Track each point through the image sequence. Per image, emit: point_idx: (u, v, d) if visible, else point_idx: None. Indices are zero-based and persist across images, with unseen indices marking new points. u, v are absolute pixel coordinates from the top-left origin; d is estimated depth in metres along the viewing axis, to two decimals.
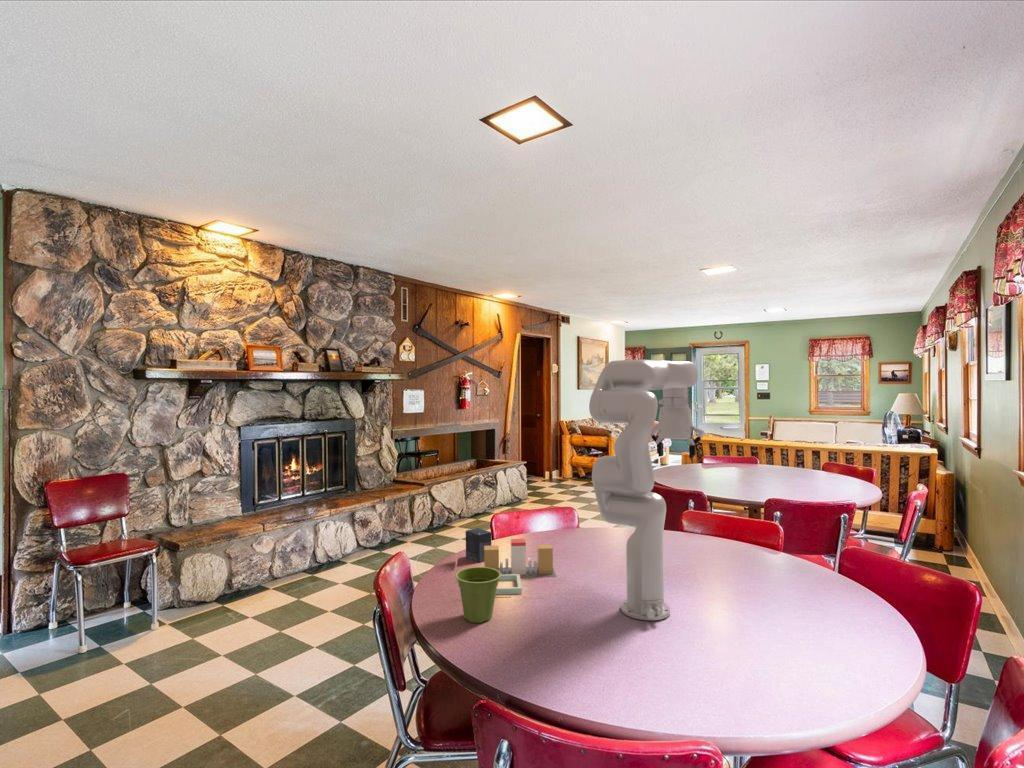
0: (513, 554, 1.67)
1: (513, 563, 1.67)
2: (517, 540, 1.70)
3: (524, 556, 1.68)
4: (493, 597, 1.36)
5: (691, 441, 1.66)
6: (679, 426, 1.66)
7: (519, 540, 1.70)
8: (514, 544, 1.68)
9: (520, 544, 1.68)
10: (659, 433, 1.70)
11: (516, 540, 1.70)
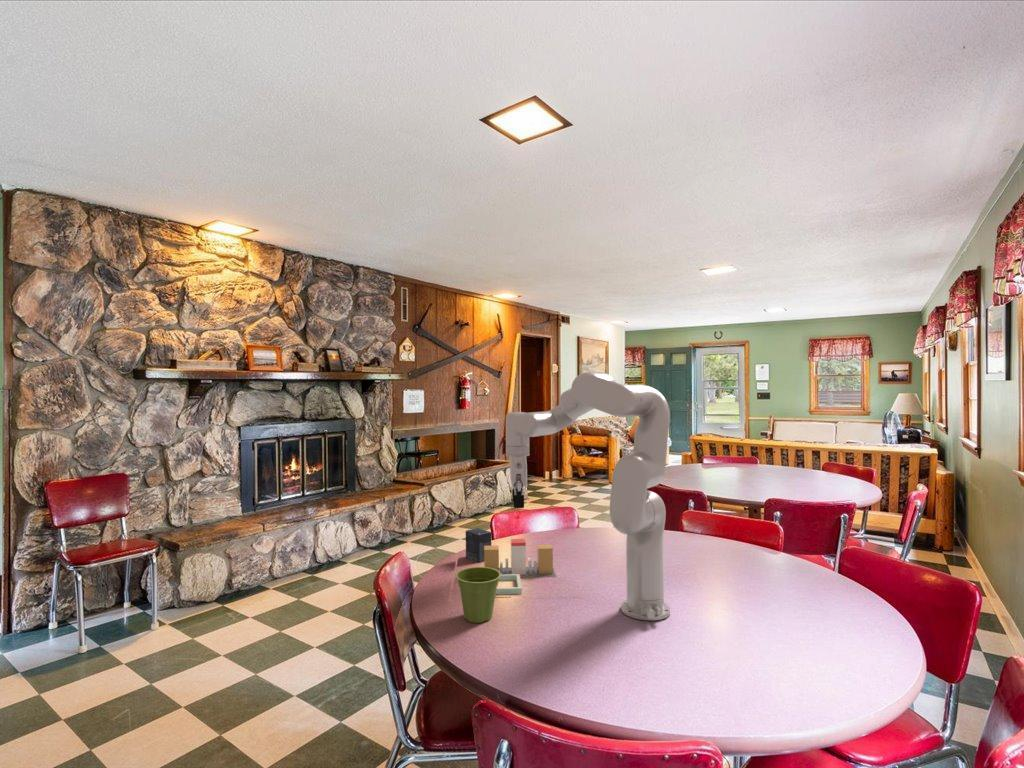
0: (513, 554, 1.67)
1: (513, 563, 1.67)
2: (517, 540, 1.70)
3: (524, 556, 1.68)
4: (493, 597, 1.36)
5: None
6: None
7: (519, 540, 1.70)
8: (514, 544, 1.68)
9: (520, 544, 1.68)
10: None
11: (516, 540, 1.70)
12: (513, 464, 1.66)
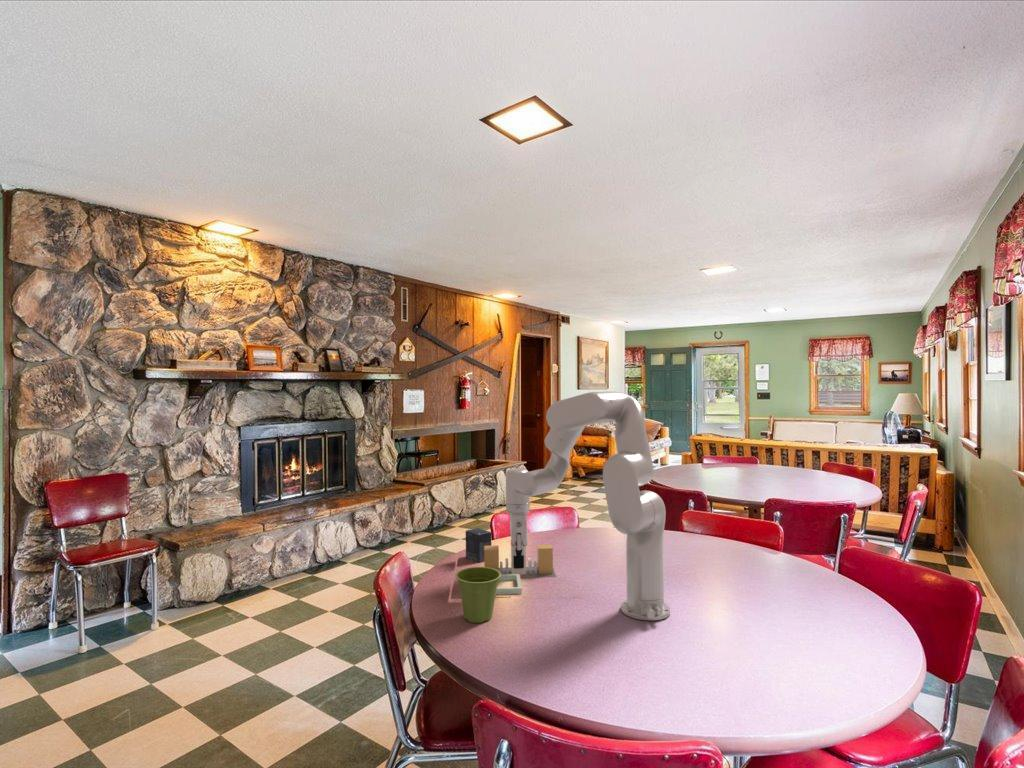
0: (513, 554, 1.67)
1: (513, 563, 1.67)
2: None
3: (524, 556, 1.68)
4: (493, 597, 1.36)
5: None
6: None
7: None
8: None
9: None
10: None
11: None
12: (513, 523, 1.65)
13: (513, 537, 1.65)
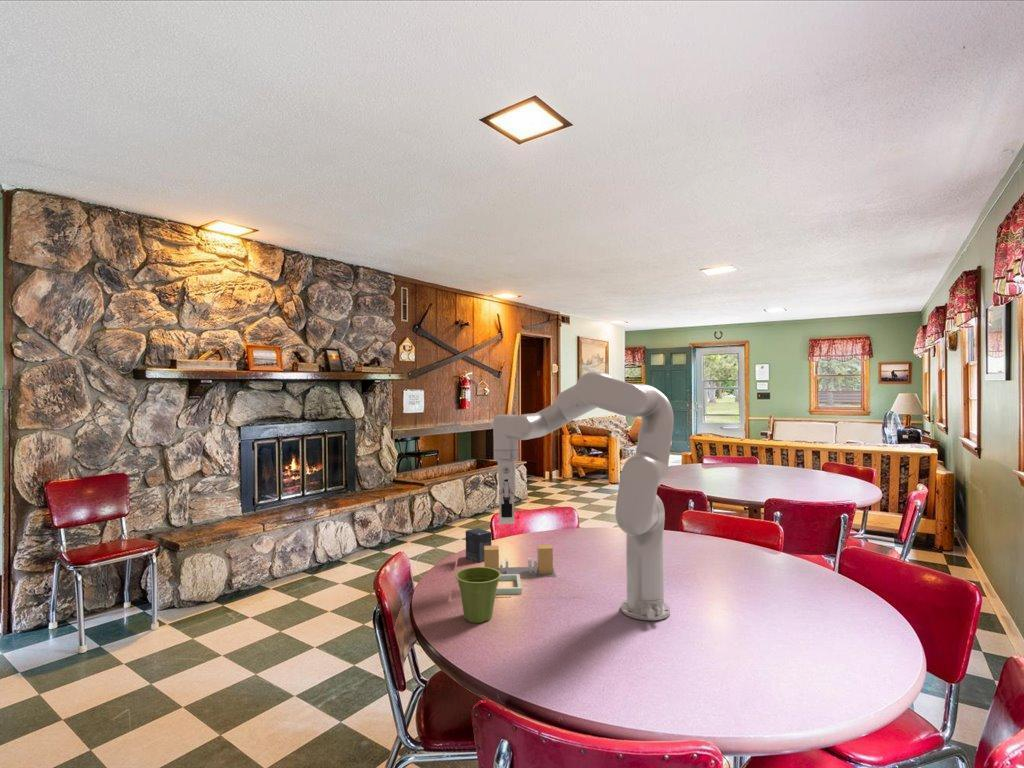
0: (500, 503, 1.60)
1: None
2: None
3: (512, 505, 1.60)
4: (493, 597, 1.36)
5: None
6: None
7: None
8: None
9: (508, 492, 1.60)
10: (515, 489, 1.58)
11: None
12: (500, 469, 1.58)
13: (500, 484, 1.58)
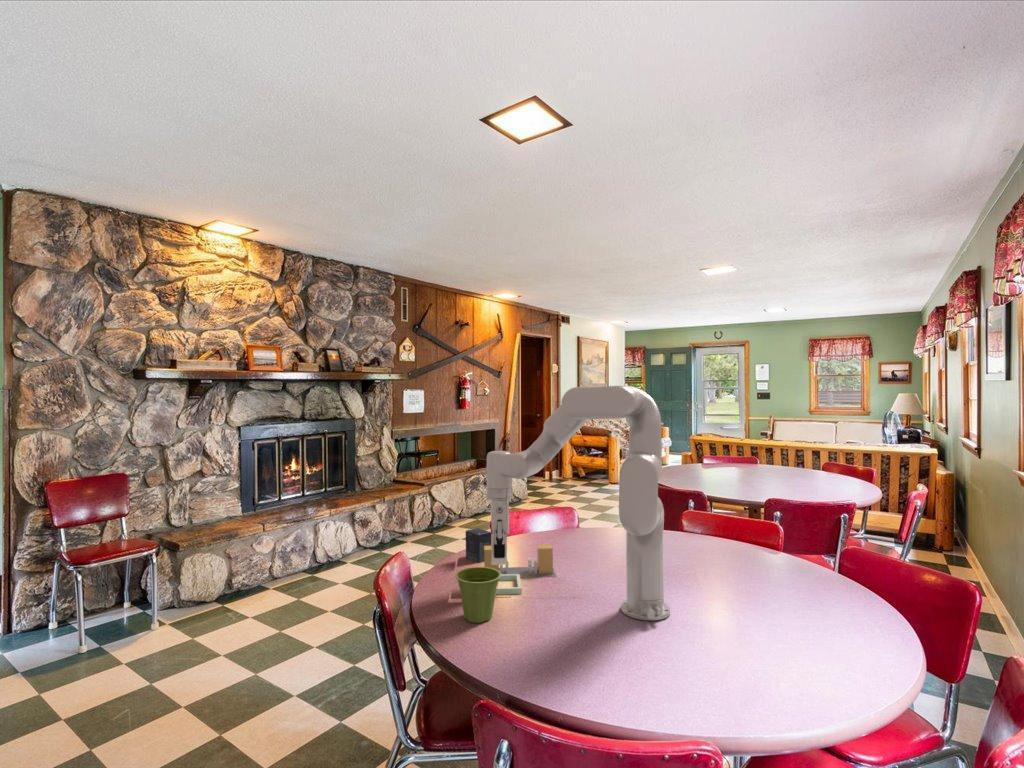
0: (493, 543, 1.55)
1: (493, 552, 1.55)
2: None
3: (505, 545, 1.56)
4: (493, 597, 1.36)
5: None
6: None
7: None
8: None
9: None
10: (508, 529, 1.53)
11: None
12: (494, 509, 1.53)
13: (493, 524, 1.53)
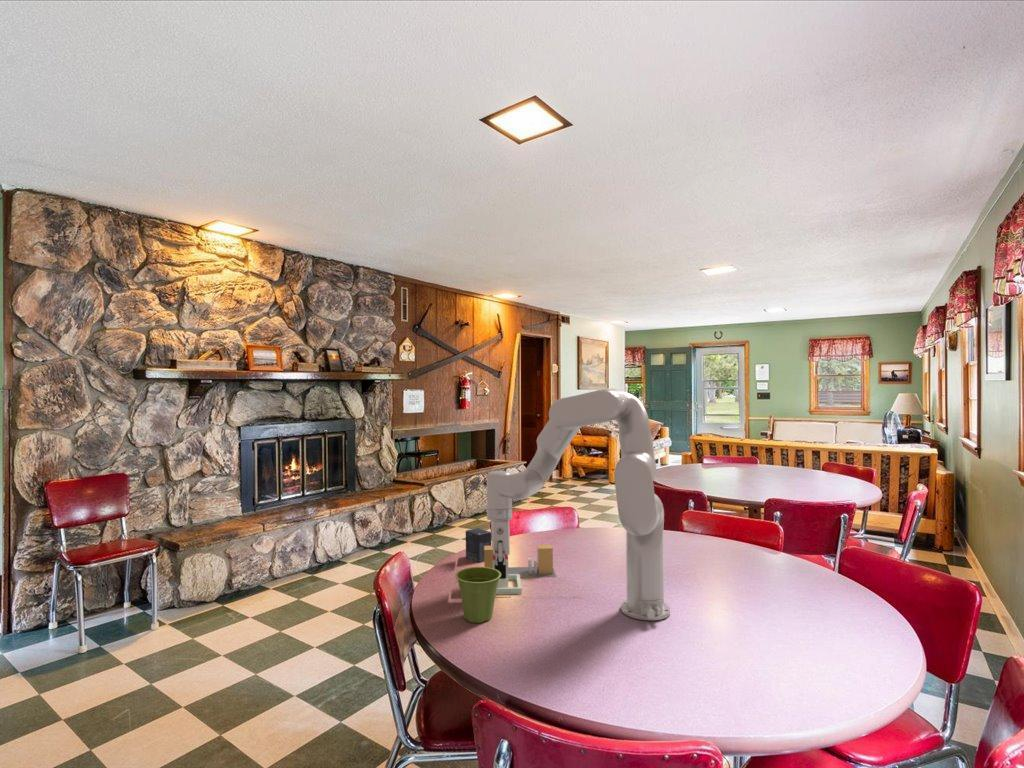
0: None
1: None
2: None
3: (506, 570, 1.55)
4: (493, 597, 1.36)
5: None
6: None
7: None
8: None
9: None
10: (509, 550, 1.53)
11: None
12: (494, 529, 1.53)
13: (494, 545, 1.53)
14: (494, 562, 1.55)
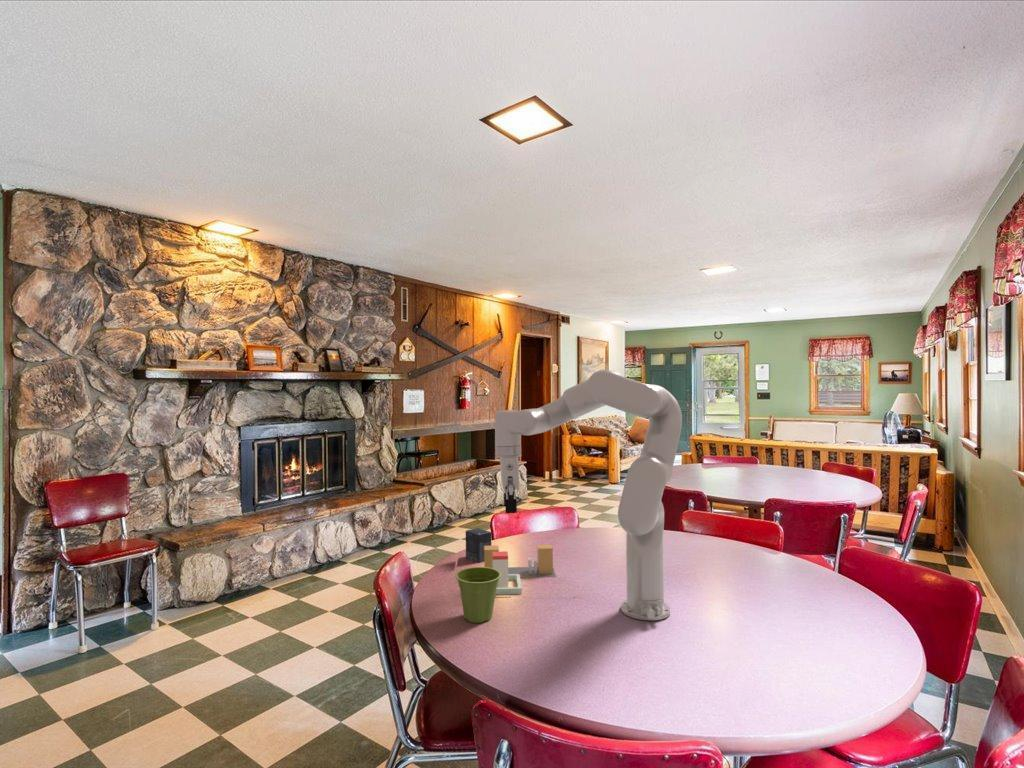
0: None
1: None
2: (499, 553, 1.58)
3: (506, 570, 1.55)
4: (493, 597, 1.36)
5: None
6: None
7: (501, 553, 1.58)
8: (496, 558, 1.55)
9: (502, 558, 1.55)
10: (519, 486, 1.54)
11: (498, 553, 1.58)
12: (504, 466, 1.54)
13: (504, 481, 1.54)
14: (494, 562, 1.55)
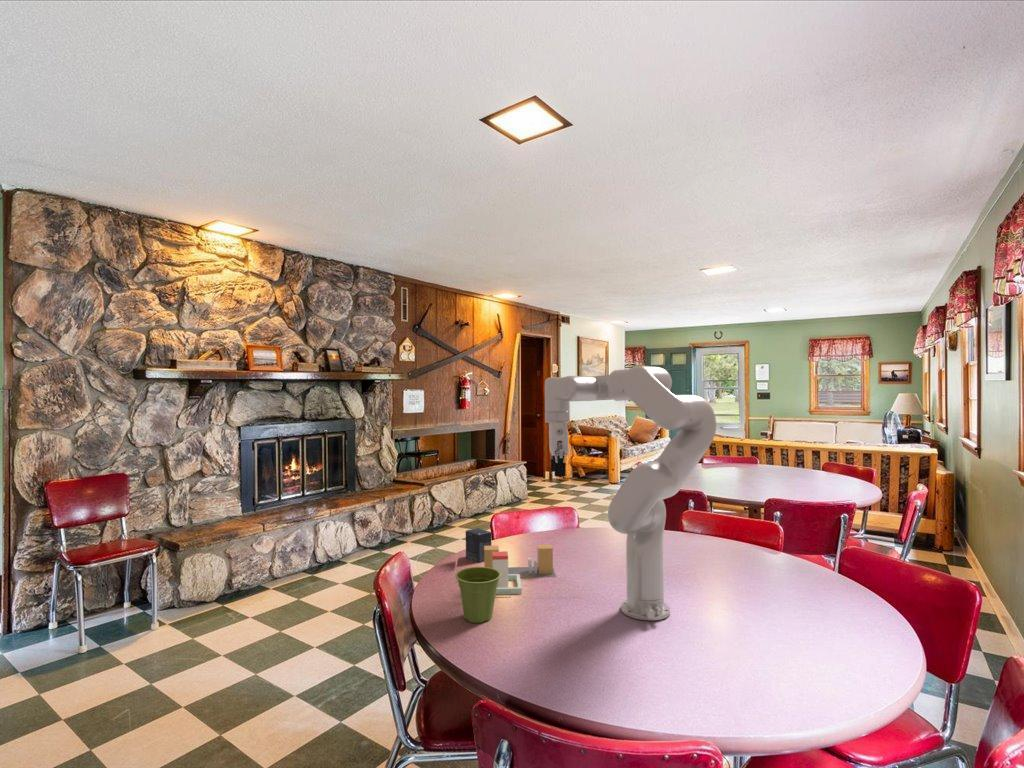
0: None
1: None
2: (499, 553, 1.58)
3: (506, 570, 1.55)
4: (493, 597, 1.36)
5: None
6: None
7: (501, 553, 1.58)
8: (496, 558, 1.55)
9: (502, 558, 1.55)
10: (568, 450, 1.59)
11: (498, 553, 1.58)
12: (554, 430, 1.58)
13: (554, 445, 1.58)
14: (494, 562, 1.55)
